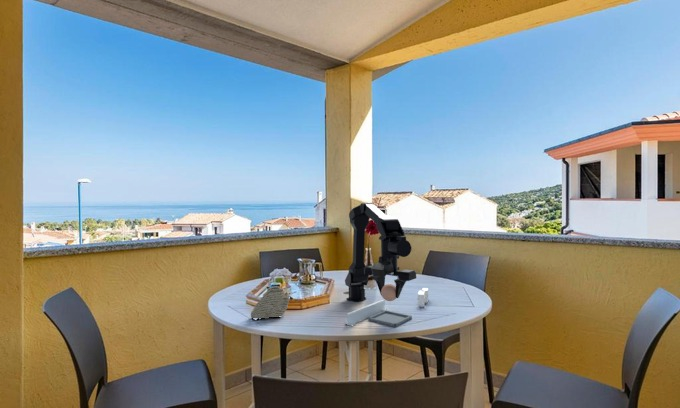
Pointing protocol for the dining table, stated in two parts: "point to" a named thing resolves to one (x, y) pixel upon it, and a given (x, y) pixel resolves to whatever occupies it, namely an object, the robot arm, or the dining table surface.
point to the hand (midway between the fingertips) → (389, 296)
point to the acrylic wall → (365, 312)
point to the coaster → (390, 318)
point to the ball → (389, 292)
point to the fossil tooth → (271, 304)
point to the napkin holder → (422, 297)
